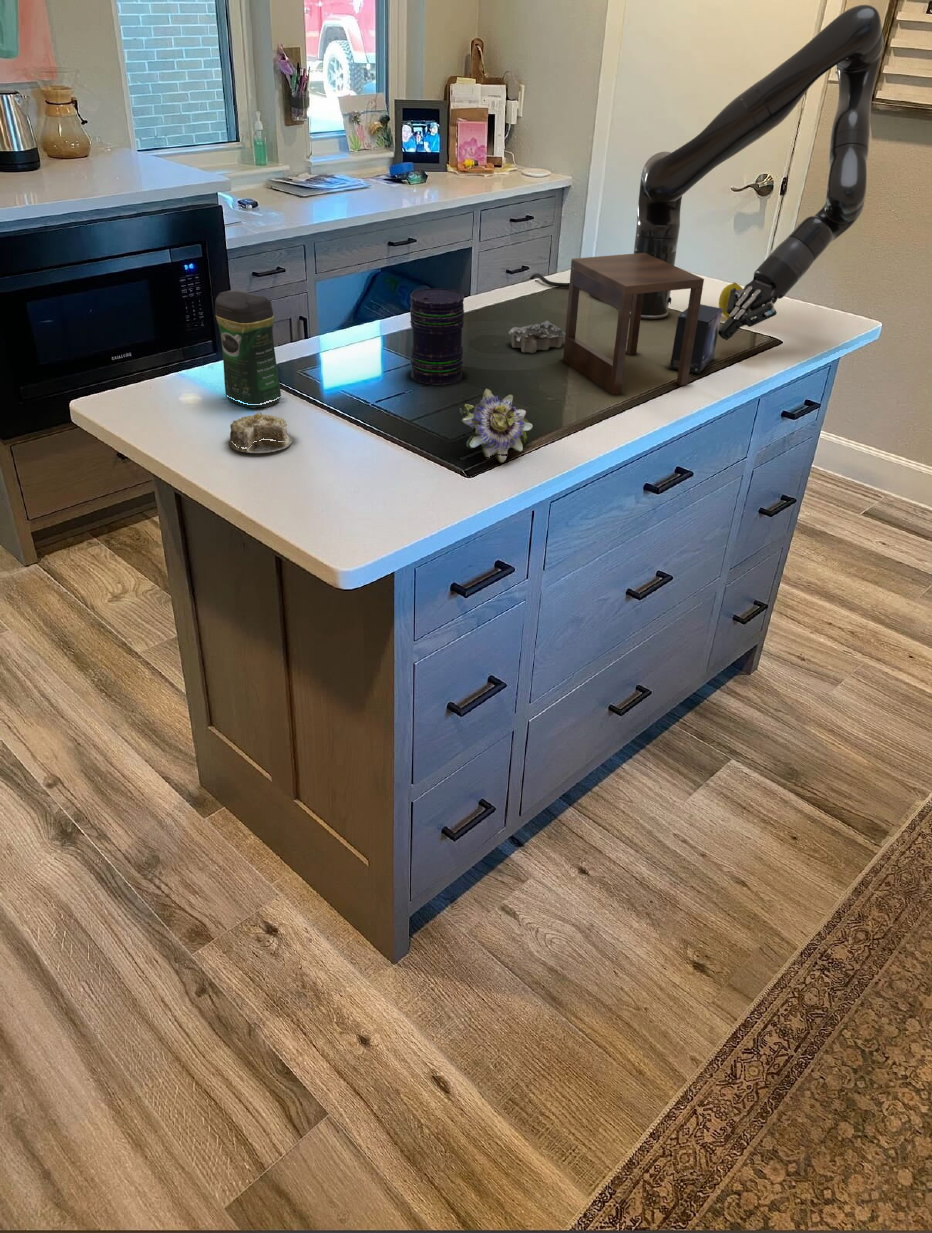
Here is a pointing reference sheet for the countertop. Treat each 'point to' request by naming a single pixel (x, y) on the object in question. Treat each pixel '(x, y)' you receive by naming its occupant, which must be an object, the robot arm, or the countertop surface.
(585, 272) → the shelf
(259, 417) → the cake
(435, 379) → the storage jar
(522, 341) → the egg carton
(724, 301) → the lemon
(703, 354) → the small box
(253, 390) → the coffee jar
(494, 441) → the passion flower
